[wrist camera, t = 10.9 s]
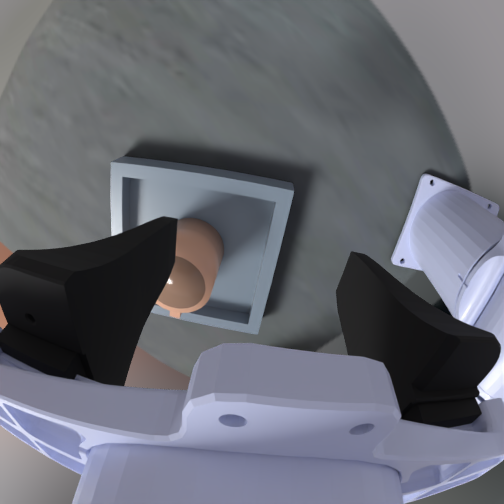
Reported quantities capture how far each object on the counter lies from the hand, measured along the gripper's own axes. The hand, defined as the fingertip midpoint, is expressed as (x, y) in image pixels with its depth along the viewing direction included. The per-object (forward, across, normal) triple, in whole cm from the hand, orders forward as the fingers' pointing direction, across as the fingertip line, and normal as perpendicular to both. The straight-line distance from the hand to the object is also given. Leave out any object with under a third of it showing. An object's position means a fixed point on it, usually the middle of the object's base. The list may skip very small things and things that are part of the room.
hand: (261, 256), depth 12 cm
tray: (+10, +5, +6) cm, 13 cm away
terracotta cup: (+10, +5, +6) cm, 12 cm away
